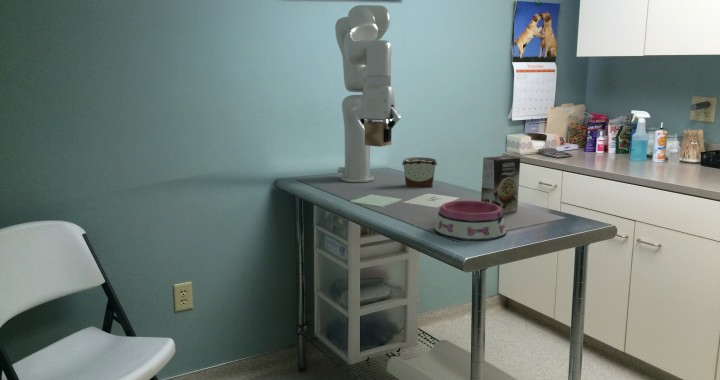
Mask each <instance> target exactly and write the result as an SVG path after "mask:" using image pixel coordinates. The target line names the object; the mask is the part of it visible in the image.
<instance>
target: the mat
mask: <svg viewBox="0 0 720 380" xmlns="http://www.w3.org/2000/svg"><path fill="white" fill-rule="evenodd" d="M402 200H403V199H402V198H397V197H390V196H386V195H385V196H384V195H383V196H382V195H379V194H378V195H377V194H368V195H365V196H363V197H358V198H356V199H352V200H350V201H349V203H353V204H354V203H355V204H359V205H366V206H372V207H373V206H374V207H378V208H383V207H386V206H389V205H391V204H395V203H397V202H400V201H402Z"/></svg>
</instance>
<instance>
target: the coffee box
mask: <svg viewBox="0 0 720 380" xmlns="http://www.w3.org/2000/svg"><path fill="white" fill-rule="evenodd" d="M520 171H521V158H520V157H517V156H509V155H500V156H488V157H487V156H485V157H483V160H482V176H481V190H480V191H481V194H480V195H481V196H480V202H487V203H492V204H495V205H498V206H499V207H500V208H501V210H502V213H503V215H504V214H512V213H517V212H518V207H519V206H518V205H519V204H518V203H519V202H518V201H519V190H520V188H519V186H520V174H521V172H520Z"/></svg>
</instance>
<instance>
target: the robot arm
mask: <svg viewBox="0 0 720 380" xmlns="http://www.w3.org/2000/svg"><path fill="white" fill-rule="evenodd" d="M390 23H391V16H390V12H389V9H388V8H387V7H386V6H384V5H380V4H379V5H378V4H377V5H375V4H374V5H373V4H370V5H369V4H358V5H356V6H355V5H354V6H353V7H352V8H350V9H349V11H348V13H347V16H343V17H340V18H338V19H337V20H336V22H335V25H334V26H335V27H334V29H335V39H336V42H337V45H338V48H339V50H340V53H341V56H342V67H343V82H344V87H345V90H346V91H347V92H350V93H361V94H350V95H347V96H346V97H344V98H343V100H342V103H341V112H342V117H343V118H342V119H343V127H344V129H343V130H344V131H343V133H344V166H339V167H338V168H337V173H342V175H341V176H340V180H341V181H342V182H346V183H368V182H372V181H374V180H375V176H374V175H373V174H371V146H368V145H365V122H373V121H382V122H384V125H385V129H384V142H390V141H391V142H392V132H391V129H393V128H394V127H395V126H396V124H397V123H398V122H399V121H400V119H402V117H401V115H400V114H399V112H397V111H396V107H395V106H396V104H395V93H394V87H393V86H392V84H391V83H392V78H391V77H392V74H391V73H392V45H391V42H390V41H389V40H386V39H385V40H384V39H382V38H383V37H384V35H385V34H386V32H388V30H389V27H390Z"/></svg>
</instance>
